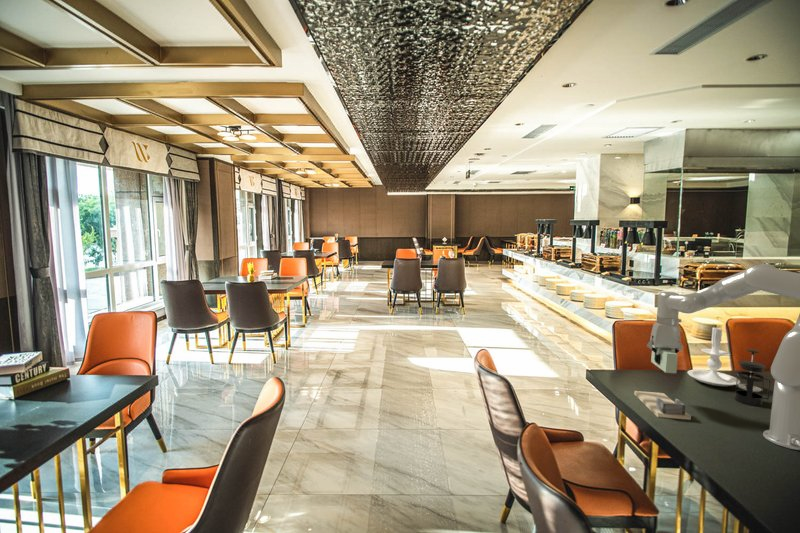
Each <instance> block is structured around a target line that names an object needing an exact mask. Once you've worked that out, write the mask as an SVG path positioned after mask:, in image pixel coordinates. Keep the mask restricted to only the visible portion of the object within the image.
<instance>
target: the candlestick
mask: <svg viewBox="0 0 800 533" xmlns="http://www.w3.org/2000/svg"><path fill="white" fill-rule="evenodd" d="M722 336H723V329H722V328H719V327H712V329H711V341H710V343H711V348H701V349H700V351H701V352H703V353H706V354H708V355H710V356H709V358H708V359H707V361H706V364H707V367H708V368H709V369H697V368H696V369H691V370H690V369H689V370H688V371H687V373H686V374H688V375H689V376H690V377H692V378H693V379H695V380H696V381H698V382H700V383H704V384H706V385H710V386H716V387H731V386H734V385H735V386H736V382H737V384H741V380H740V379H738V381H737V377H735V376H732V375H730V374H727V373H724V372H719V370H720V369H721V368H722V361H721V360H720V357H724V356H730V355H731V353H730V352H728V351H725V350H720V349H721V342H722Z"/></svg>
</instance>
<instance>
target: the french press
mask: <svg viewBox="0 0 800 533" xmlns="http://www.w3.org/2000/svg"><path fill="white" fill-rule="evenodd" d="M746 351H747V352H750V353H751V354H750V355H751V361H750V360H749V361H748V360H739V361H738V362H737V363H738V364H740V367H741V368H742V369H743V370H745V371H741V370H740V371H737V372H736V373H737V374H736V378H737V381H738V380H739V378H740V379H742V380H746V383H739V384H737V382H736V385H735V392H734V393H735V395H734V401H736V402H738V403H740V404H744V405H746V406H751V407H761V406H763V399H764V400H769V397H770V388H771V378H769V377H765V376H763V375H762V374H759V373H763V372H765V371H764V370H765V368H766V365H764V364H762V363H760V362H755V361H753V360H754V356H755V354H756V353H757V354H758V353H760V351H759V350H756V349H746ZM745 375H747V376H745ZM756 377H757V378H756ZM765 380H766V381H768V386H767V394H766V397H765V396H763V395H764V385H765ZM754 382H758V383H761V382H762V388H760V387H759V386H755V385H754ZM737 388H738V390H737ZM759 393H761V394H759Z"/></svg>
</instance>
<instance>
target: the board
mask: <svg viewBox="0 0 800 533" xmlns="http://www.w3.org/2000/svg"><path fill="white" fill-rule="evenodd" d="M634 396H636V398H638V399H639V400H640V401H641V402H642V403H643V405H645V407H647V408H648V409H649V410H650V411H651V412H652V413H653V414H654V415H655V416H656V417H657V418H663V419H665V418H666V419H676V420H677V419H678V420H688V421H691V418H692V415H691V414H689V413H688V411H686V404H685V403H684V402H682V401H681V400H680V399H678V398H675V400H672V399H671V398H670V397H669V396H668V395H666V394H665V393H664V392H653V391H652V392H651V391H640V390H634Z"/></svg>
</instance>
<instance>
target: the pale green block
mask: <svg viewBox="0 0 800 533" xmlns="http://www.w3.org/2000/svg"><path fill="white" fill-rule="evenodd" d="M652 347H654V348H655V346H654V345H652ZM660 355H661V358H660V364H657V363H656V362H655V360H654V358H655V353H654V352H653V351H652V350H651V357H650V358H651V359H650V363H652V364H654V366H656V367H658V368H659V369H660V370H662V371H663V372H664V373H665V374H677V369H678V360H679V359H678V357H679V354H678V353H675V352H673V351H672V350H670V349H669V348H661V350H660Z"/></svg>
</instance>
